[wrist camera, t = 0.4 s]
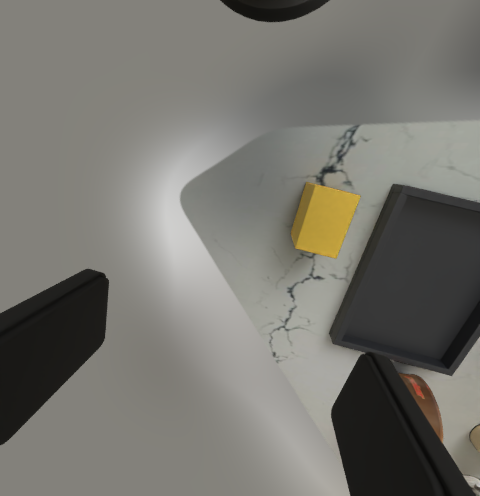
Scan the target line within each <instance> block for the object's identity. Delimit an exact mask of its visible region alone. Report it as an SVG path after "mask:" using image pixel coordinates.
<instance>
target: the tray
mask: <svg viewBox="0 0 480 496" xmlns="http://www.w3.org/2000/svg"><path fill="white" fill-rule="evenodd" d="M329 334H330V337H331V339H332V342H333V344H335V345H339V346H343V347H346V348H350V349H354V350H357V351H361V352H365V353H367V352H373V353H376V354H380V355H383V356H386V357H388V358H389V359H391V360H395V361H398V362H402V363H406V364H409V365H413V366H417V367H421V368H424V369H428V370H432V371H435V372H439V373H443V374H446V375H450V376H452V375H453V374H454V372H455V371H456V369H457V368H458V367H459V365H460V364H461V362H462V361H463V359H464V358H465V357H466V355H467V354H468V352H469V351H470V349H471V348H472V347H473V345H474V344H475V342H476V341H477V339H478V338H479V337H480V203H478V202H474V201H470V200H466V199H461V198H457V197H453V196H448V195H444V194H440V193H435V192H431V191H427V190H423V189H418V188H414V187H410V186H405V185H398V184H393V186H392V188H391V191H390V193H389V195H388V198H387V200H386V202H385V205H384V207H383V209H382V212H381V214H380V216H379V219H378V221H377V223H376V226H375V228H374V230H373V233H372V235H371V237H370V240H369V242H368V244H367V247H366V249H365V251H364V253H363V256H362V258H361V260H360V263H359V265H358V267H357V270H356V272H355V274H354V277H353V279H352V281H351V284H350V286H349V288H348V291H347V293H346V295H345V298H344V300H343V302H342V305H341V307H340V309H339V312H338V314H337V316H336V319H335V321H334V323H333V326H332V328H331V330H330V333H329Z"/></svg>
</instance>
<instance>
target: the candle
mask: <svg viewBox="0 0 480 496" xmlns="http://www.w3.org/2000/svg"><path fill="white" fill-rule="evenodd" d="M470 439H471V441H472V443H473V445H474V446H475V447H476V449H477V450H478V452H479V453H480V425H479V426H477V427H476V428H474V429H473V430H472V432H471V434H470Z"/></svg>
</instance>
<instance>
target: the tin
mask: <svg viewBox="0 0 480 496" xmlns="http://www.w3.org/2000/svg"><path fill="white" fill-rule="evenodd" d="M398 374H399V375H400V377H401V378H402V380H403V382H404V383H405V385H406V386H407V388H408V389H409V391H410V393H411V394H412V396H413V397H414V399H415V401H416V402H417V404H418V405H419V407H420V408H421V410H422V412H423V413H424V415H425V416H426V418H427V419H428V421H429V423H430V424H431V426H432V427H433V429H434V431H435V432H436V434H437V435H438V437H439V438H440V440H441V442H442V443H443V426H442V419H441V415H440V411H439V408H438V405H437V402H436V400H435V397H434V395H433V393H432V391H431V389H430V388H429V386H428V385H427V384H426V382H425V381H424V380H423V379H422V378H420V377H419V376H417V375H415V374H410V375H409V374H403V373H398Z"/></svg>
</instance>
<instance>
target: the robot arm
mask: <svg viewBox="0 0 480 496" xmlns="http://www.w3.org/2000/svg"><path fill="white" fill-rule="evenodd" d="M108 288H109V280H108V279H107V278H106V276H105V274H104V273H101V272H98V271H95V270H91V269H85V270H83V271H81V272H79V273H77V274H75V275H74V276H71V277H70V278H68V279H66V280H64V281H62V282H60V283H58V284H56V285H54V286H52V287H50V288H48V289H46V290H44V291H43V292H41V293H39V294H37V295H35V296H33V297H31V298H30V299H27V300H25V301H23V302H21V303H19V304H18V305H16V306H14V307H12V308H10V309H8V310H6V311H4V312H2V313H0V445H2V444H4V443H5V442H7V441H8V440H9V439H10V438H11V437H12V436H13V435H14V434H15V433H16V432H17V431H18V430H19V429H20V428H21V427H22V426H23V425H24V424H25V423H26V422H27V421H28V419H30V418H31V417H32V416H33V415H34V414H35V413H36V412H37V411H38V410H39V409H40V407H41V406H42V405H43V404H44V403H45V402H46V401H47V400H48V399H49V398H50V397H51V396H52V395H53V394H54V393H55V392H56V391H57V390H58V389H59V388H60V387H61V386H62V385H63V384H64V383H65V382H66V381H67V380H68V379H69V378H70V377H71V376H72V375H73V374H74V373H75V372H76V371H77V370H78V369H79V368H80V367H81V366H82V365H83V364H84V363H85V362H86V361H87V360H88V359H89V358H90V357H91V356H92V355H93V354H94V352H96V350H98V349H99V347H100V346H101V345H102V343H103V341H104V339H105V330H106V316H107V302H108ZM331 418H332V422H333V426H334V430H335V435H336V439H337V443H338V447H339V451H340V455H341V459H342V463H343V467H344V471H345V475H346V479H347V483H348V488H349V492H350V496H476V495H475V494H474V492H473V491H472V489H471V487H470V486H469V484H468V483H467V481H466V480H465V478H464V476H463V475H462V473H461V472H460V470H459V468H458V467H457V465H456V464H455V462H454V461H453V459H452V457H451V456H450V454H449V453H448V451H447V450H446V448H445V446H444V445H443V443H442V442H441V440H440V438H439V437H438V435H437V434H436V432H435V431H434V429H433V427H432V426H431V424H430V423H429V421H428V419H427V418H426V416H425V415H424V413H423V412H422V410H421V408H420V407H419V405H418V404H417V402H416V401H415V399H414V397H413V396H412V394H411V393H410V391H409V389H408V388H407V386H406V385H405V383H404V382H403V380H402V378H401V377H400V375H399V374H398V372H397V371H396V369H395V367H394V366H393V364H392V363H391V361H390V360H389V358H388V357H386V356H383V355H380V354H376V353H373V352H367V353H366V354H362V355H360V357H359V358H358V360H357V362H356V364H355V366H354V368H353V370H352V371H351V373H350V375H349V377H348V379H347V381H346V383H345V384H344V386H343V388H342V390H341V392H340V394H339V396H338V397H337V399H336V401H335V403H334V405H333V407H332V411H331Z"/></svg>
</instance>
